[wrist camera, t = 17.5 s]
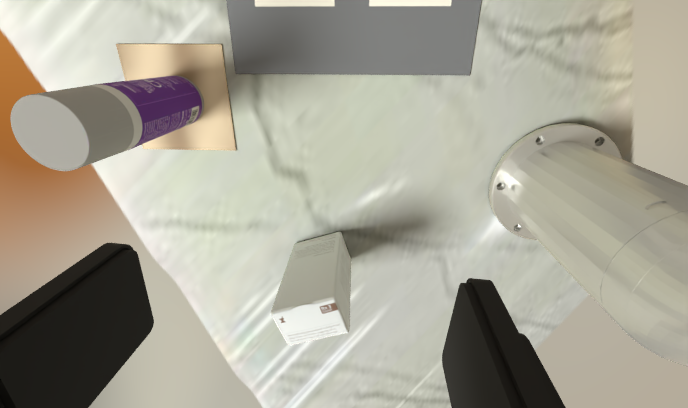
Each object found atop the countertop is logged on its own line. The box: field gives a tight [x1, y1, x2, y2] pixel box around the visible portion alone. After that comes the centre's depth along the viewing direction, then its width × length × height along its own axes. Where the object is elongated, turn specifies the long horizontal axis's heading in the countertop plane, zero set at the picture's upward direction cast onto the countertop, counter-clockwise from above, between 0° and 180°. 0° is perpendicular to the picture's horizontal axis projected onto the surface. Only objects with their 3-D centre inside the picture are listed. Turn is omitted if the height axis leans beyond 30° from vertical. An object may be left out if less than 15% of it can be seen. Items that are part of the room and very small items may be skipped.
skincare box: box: [271, 232, 351, 346], centre depth 34 cm, size 6×4×12 cm
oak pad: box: [116, 44, 236, 150], centre depth 32 cm, size 10×10×1 cm
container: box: [11, 76, 204, 171], centre depth 26 cm, size 5×5×15 cm
